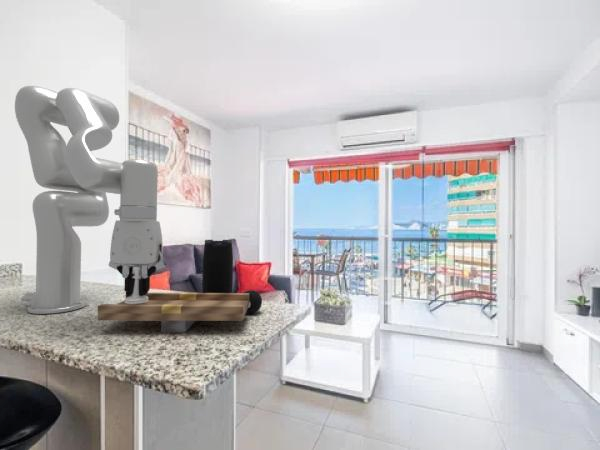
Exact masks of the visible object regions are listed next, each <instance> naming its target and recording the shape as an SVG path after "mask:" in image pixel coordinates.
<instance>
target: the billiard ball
mask: <svg viewBox="0 0 600 450" xmlns="http://www.w3.org/2000/svg"><path fill="white" fill-rule="evenodd" d="M243 293H249V307H248V309H247V311H246V314H254V313H257V312H258V311H260V309H261V307H262V304H263V300H262V299H263V298H262V296H261V294H260V293H259V292H258V291H256V290H252V289H250V290H246V291H244V292H243Z"/></svg>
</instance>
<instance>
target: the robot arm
mask: <svg viewBox="0 0 600 450" xmlns="http://www.w3.org/2000/svg"><path fill="white" fill-rule="evenodd" d="M14 113H15V118H16V121H17V123H18V127H19V128H20V130H21V131H22V134H23V136H24V139H25V141H26V144H27V148H28V149H27V150H28V154H29V158H30V164H31V168H32V169H31V170H32V174H33V177H34V180H35V183H37V184H38V185H39V186H40V187H42V188H45V189H49V190H48V191H43V192H41V193H39V194H37V195H36V196H35V197H34V199H33V201H32V214H33V217H34V224H35V230H36V262H35V263H36V264H35V265H36V266H35V268H36V270H35V271H36V272H35V273H36V274H35V291H33V292H25V293H24V295H23V296H22V297H21V301H22V302H29V301H30V303H31V304H30V305H28V306H27V312H28V313H30V314H33V315H34V314H36V315H49V314H59V313H65V312H71V311H75V310H79V309H82V308H85V307H86V306H87V304H88V302H87V301H88V300H86V299H85V298H81V274H82V273H81V272H82V271H81V270H82V269H81V267H82V263H81V262H82V241H81V239H80V237H79V235H78V233H76V231H75V229H74V228H73V227H88V228H89V227H99V226H100V227H101V226H102V225H104V224H105V223H106V222H107V221H108V218H109V215H110V209H109V202H108V201H109V200H108V196H107V193H109V194H114V195H115V194H116V195H120V196H119V197H120V199H119V200H120V201H119V202H120V204H119V207H118V209H114V212H113V213H114V215H115V216H118V218H119V220H115V223H114V227H113V230H112V234H111V240H110V241H111V243H110V250H109V251H110V253H109V263H108V267H109V268H112V269H114V270H117V271H118V273H119V274H121V276H122V278H123V279H124V291H125V297H126V296H130V295H131V294H133V290H134V283H135V278H132V276H135V273H134V270H133V266H135V265H140V266H142V270H141V276H142V277H141V278H140V279H139V295H140V296H143V295H145V294H147V293H149V291H150V287H151V286H150V285H151V282H150V281H151V280H150V278H151V277H152V276H153V274H154V273H155V272H156V271H158V270H161V269H162V268H165V267H166V266H167V263H166V261H165V257H164V255H163V253H164V249H163V248H164V247H163V246H164V245H163V235H162V227H161V223H160V221H158V220H157V217H158V213H157V212H158V176H159V175H158V171H159V170H158V167H157V165H156V164H155V163H154V162H151V161H148V160H142V159H126V160H124V161H123V162H117V161H115V160H109V159H105V158H98V157H95V156H94V155H93V153H92V152H93V151H98V150H101V149H104V148H105V147H106V146H108V145H109V144H110V143H111V142H112V139H113V130H115V129H116V128H117V127H118V125H119V122H120V113H119V110H118V108H117V106H116V105H115V104H114V103H113V102H111V101H110V100H108V99H106V98H103V97H100V96H97V95H95V94H93V93H89V92H87V91H85V90H82V89H79V88H74V87H73V88H72V87H69V88H62V89H61V90H59V91H58V92H57V91H54V90H51V89H49V88H45V87H42V86H36V85H26V86H23V87H21V88H20V89H19V90H18V91H17V92H16V95H15V100H14ZM51 123H53V124H57V125H60V126H63V127H67V128H68V131H69V132H70V134H71V137H70V138H69V140H68V141H67V142H66V141H65V139H64V137H63V136H62V134H60V132H59V131H58V130H57V129H56V127H54V126H53V125H52V124H51ZM153 264H155V265H153Z"/></svg>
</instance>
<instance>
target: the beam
mask: <svg viewBox="0 0 600 450" xmlns="http://www.w3.org/2000/svg"><path fill="white" fill-rule="evenodd" d="M130 296H132V295H130ZM130 296H126V295H125V299H126V298H127V297H130ZM144 296H147V297H148V300H149V301H147V302H144V303H139V304H127V303H125V299H124V300H122V301H120V302H118V303H116V304H115V303H110V304H109V303H106V304H105V303H102V304H99V305H97V321H146V322H147V321H158V322H159V321H160V322H161V331H160V332H161V333H186V332H187V331H188V330H189V329H190V327H191V326H192V325H193V324H194V323H196V321H199V322H200V321H203V322H204V321H206V322H207V321H211V322H212V321H213V322H214V321H215V322H216V321H217V322H218V321H222V322H223V321H225V322H230V321H232V322H233V321H237V322H238V321H239V322H241V321H242V322H243V321H244V319H245V316H246V314H247V313H246V311H247V309H248V307H249V293H244V292H236V293H235V292H232V293H202V292H148V293H147V294H145V295H144Z"/></svg>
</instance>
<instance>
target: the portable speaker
mask: <svg viewBox="0 0 600 450" xmlns="http://www.w3.org/2000/svg"><path fill="white" fill-rule="evenodd" d="M232 243H233V240H232V239H223V240H214V239H205V240H204V247H203V256H202V268H201V269H202V275H201V277H202V278H201V279H202V280H201V281H202V282H201V289H202V290H201V291H202V292H201V293H233V284H234V283H233V281H234V279H233V278H234V254H233V244H232Z"/></svg>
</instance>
